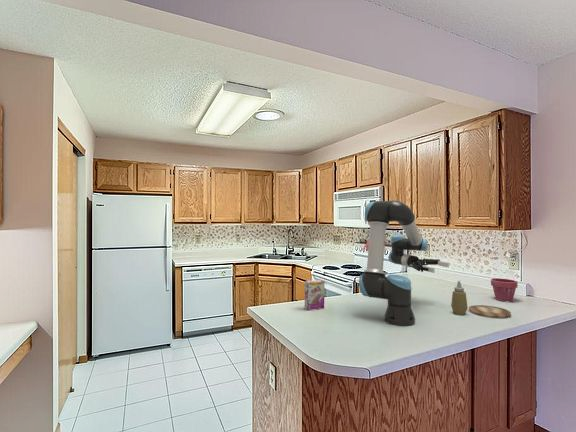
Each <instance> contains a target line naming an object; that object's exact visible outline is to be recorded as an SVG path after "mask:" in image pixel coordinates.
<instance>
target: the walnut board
mask: <svg viewBox="0 0 576 432" xmlns="http://www.w3.org/2000/svg"><path fill="white" fill-rule="evenodd" d="M468 312H469V313H471V314H473V315H475V316H479V317H483V318H491V319H508V317H509V318H511V317H512V312H511V311H510V310H508V309H505V308H503V307H499V306H498V307H497V306H494V305H486V304H474V305H470V306H468ZM510 316H511V317H510Z"/></svg>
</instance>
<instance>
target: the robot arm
mask: <svg viewBox="0 0 576 432" xmlns="http://www.w3.org/2000/svg"><path fill="white" fill-rule="evenodd" d="M364 219H365V221H366V222H367V225H368V226H369V236H368V237H369V238H368V241H369V248H368V250H367V261H366V268H365V269H364V271H363V274H360V276H359V278H358V287H359V291H360V293H361V294H362V296H364V297H367V298H368V297H369V298H375V299H382V300H387V306H386V309H385V313H384V316H383V318H384V321H385V323H387V324H389V325H395V326H403V327H405V326H406V327H407V326H408V327H409V326H413V325H415V323H416V317H415V315H414V311H413V308H412V282H411V280H410V279H409V277H406V276H405V275H399V274H388V275H387V276H386V272H385V271H384V262H385V261H384V259H385V252H384V247H385V248H386V246H385V243H386V230H387V227H389V226H390V222H396V223H398V224H399V225H400V226H401V227H402V229H403V232H404V234H405V235H406V238H405V237H404V236H403V234H393V235H391V237H390V239H391V240H390V243H391V251H390V252H389V253H388V257H387V258H388V261H389V262H390V263H392V264H394V265H400V266H405V267H406V268H413V269H415V270H416V271H417V272H421V273H423V272H428V273H433V274H434V273H435V267H430V265H431V266H440V267H443V268H450V263H449V262H448V261H441V259H439V258H437V259H435V258H434V259H433V258H421V259H420V258H419V257H418V256H417V255H412V254H406V253H405V251H417V252H418V251H419V252H423V251H424V252H426V251H427V250H428V247H429V243H428V240H427V238H422V236H421V233H420V231H419V227H418V225H417V223H416V220H415V219H416V216H415V214H414V211H413V210H412V209H411V208H410V207H409V206H408V205H407V204H406V203H404V202H402V201H399V200H376V201H369V202H368V203H367V204H366V206H365V209H364Z"/></svg>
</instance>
